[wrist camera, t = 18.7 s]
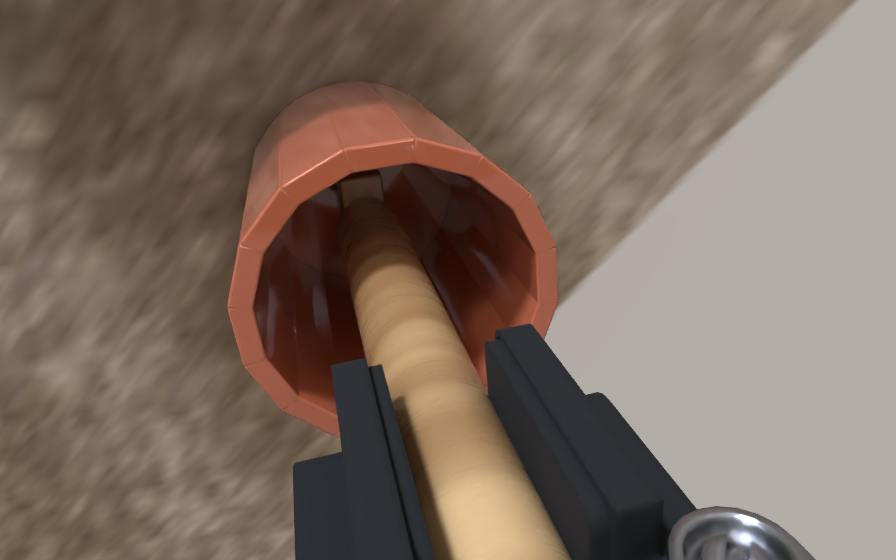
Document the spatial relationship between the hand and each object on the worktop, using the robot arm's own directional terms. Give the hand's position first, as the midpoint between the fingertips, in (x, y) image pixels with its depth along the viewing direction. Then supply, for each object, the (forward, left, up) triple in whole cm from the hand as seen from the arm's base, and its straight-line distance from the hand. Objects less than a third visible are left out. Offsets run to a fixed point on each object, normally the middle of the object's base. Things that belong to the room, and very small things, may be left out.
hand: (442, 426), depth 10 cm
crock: (0, 0, -13) cm, 13 cm away
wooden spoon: (0, 0, -13) cm, 13 cm away
